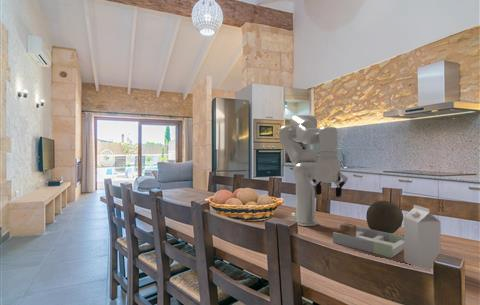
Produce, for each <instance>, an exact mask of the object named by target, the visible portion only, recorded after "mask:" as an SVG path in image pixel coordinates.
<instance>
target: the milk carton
mask: <svg viewBox="0 0 480 305" xmlns="http://www.w3.org/2000/svg"><path fill="white" fill-rule="evenodd" d="M441 224H442V223H441V221H440V219H438V218H437V217H436V216H434V215H433V214H432V213H431V209H430V208H428V207H427V208H426V207H424V206H421V205H416V204H413V208H411V209H410V211H409V212H407V213H406V214H405V215H403V236H404V249H403V259H404V260H403V262H404V263H406V264H408V265H409V264H411V265H415V266H418V267H421V268H427V269H432V263H433V260H434V259H435V257H436V256H437V255H438V254H441V255H442V251H441V250H442V242H441V241H442V237H441V236H442V233H441V231H442V229H441V228H442V227H441V226H442V225H441ZM411 265H410V266H411Z"/></svg>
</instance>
